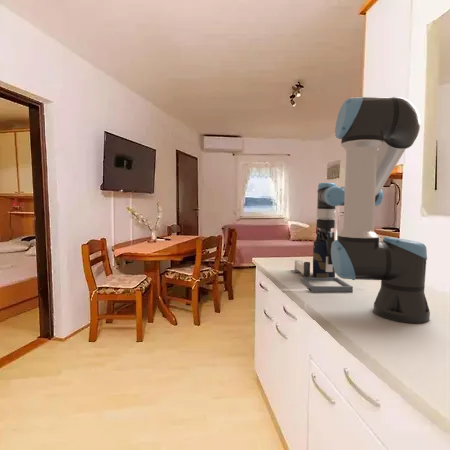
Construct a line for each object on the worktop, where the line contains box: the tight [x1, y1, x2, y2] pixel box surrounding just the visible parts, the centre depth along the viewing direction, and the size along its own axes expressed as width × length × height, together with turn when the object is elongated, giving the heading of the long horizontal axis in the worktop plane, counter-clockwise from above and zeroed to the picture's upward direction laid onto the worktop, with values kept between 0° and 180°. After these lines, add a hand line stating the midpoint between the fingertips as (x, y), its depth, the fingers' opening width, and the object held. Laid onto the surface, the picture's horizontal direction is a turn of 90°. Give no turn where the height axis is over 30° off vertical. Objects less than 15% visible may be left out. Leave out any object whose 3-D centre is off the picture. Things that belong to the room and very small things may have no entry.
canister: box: [312, 239, 336, 278], centre depth 143 cm, size 10×10×18 cm
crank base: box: [290, 269, 302, 274], centre depth 154 cm, size 6×6×1 cm
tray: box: [300, 277, 354, 294], centre depth 131 cm, size 15×16×2 cm
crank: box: [293, 259, 311, 277], centre depth 148 cm, size 16×4×7 cm, turn 3°
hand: (323, 268), depth 144 cm, fingers open, 11 cm apart
